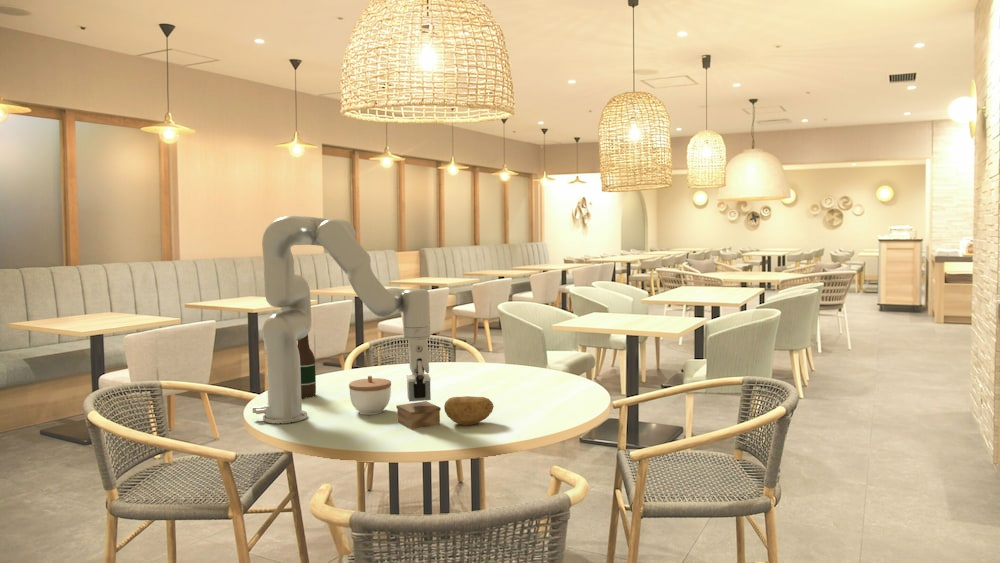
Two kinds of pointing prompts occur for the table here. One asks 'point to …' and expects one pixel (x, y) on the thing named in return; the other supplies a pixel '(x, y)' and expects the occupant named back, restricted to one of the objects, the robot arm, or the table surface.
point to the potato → (468, 409)
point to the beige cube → (411, 388)
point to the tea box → (418, 415)
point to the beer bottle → (307, 368)
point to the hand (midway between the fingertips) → (418, 394)
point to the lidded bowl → (370, 395)
